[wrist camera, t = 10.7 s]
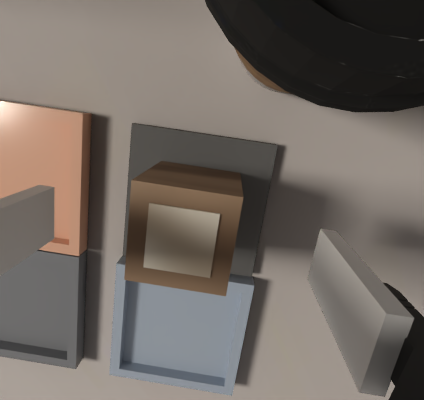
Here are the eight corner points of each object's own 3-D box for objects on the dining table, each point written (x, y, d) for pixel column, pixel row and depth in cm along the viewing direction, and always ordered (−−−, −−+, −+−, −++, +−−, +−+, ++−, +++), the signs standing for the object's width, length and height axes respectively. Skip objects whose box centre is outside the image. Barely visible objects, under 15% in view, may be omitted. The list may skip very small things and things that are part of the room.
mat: (134, 123, 20) (131, 123, 19) (276, 144, 19) (277, 145, 19) (125, 252, 22) (122, 256, 21) (251, 272, 22) (251, 276, 21)
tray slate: (122, 255, 22) (116, 263, 21) (253, 276, 22) (254, 285, 21) (115, 362, 25) (109, 374, 23) (232, 382, 24) (232, 395, 23)
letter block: (161, 160, 19) (130, 180, 14) (240, 172, 19) (243, 197, 13) (154, 235, 21) (123, 282, 15) (227, 247, 21) (225, 299, 15)
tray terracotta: (-53, 92, 20) (-70, 90, 19) (91, 113, 20) (82, 113, 18) (-41, 228, 22) (-56, 234, 21) (87, 248, 22) (79, 256, 21)
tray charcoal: (-41, 229, 22) (-56, 235, 21) (86, 250, 22) (78, 257, 21) (-31, 337, 25) (-44, 348, 24) (83, 357, 25) (75, 369, 24)
